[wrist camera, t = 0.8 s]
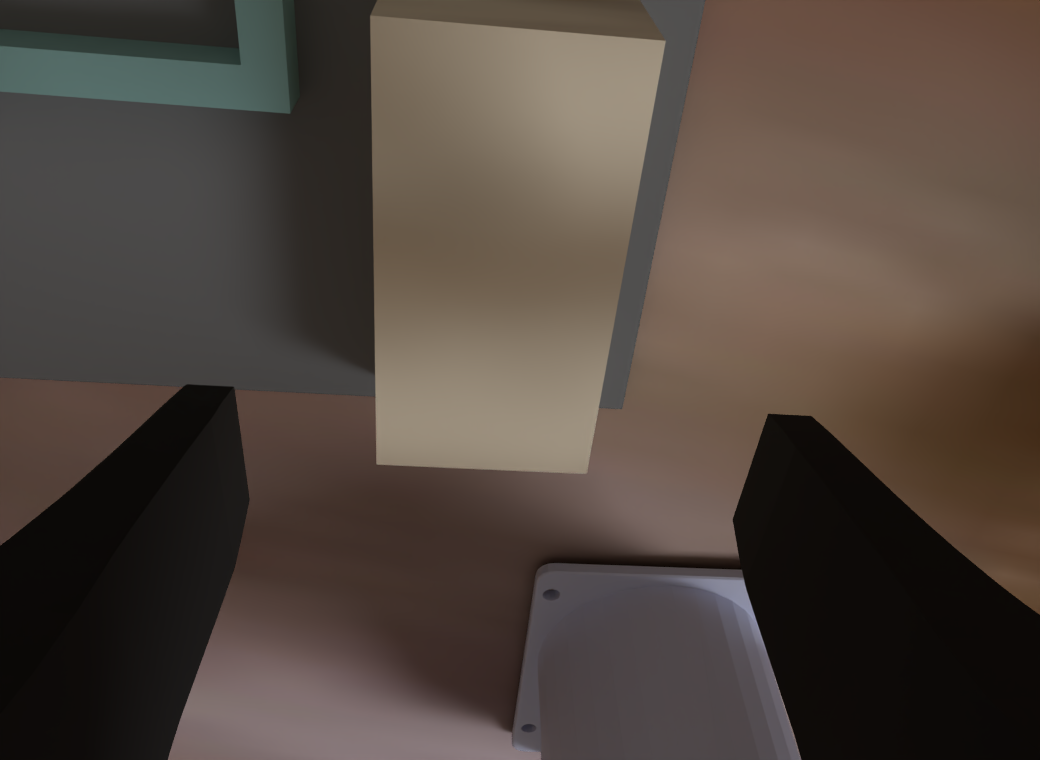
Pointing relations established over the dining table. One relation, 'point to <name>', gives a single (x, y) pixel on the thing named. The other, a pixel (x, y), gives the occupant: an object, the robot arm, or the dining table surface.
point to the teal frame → (164, 65)
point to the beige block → (502, 221)
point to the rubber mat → (233, 213)
